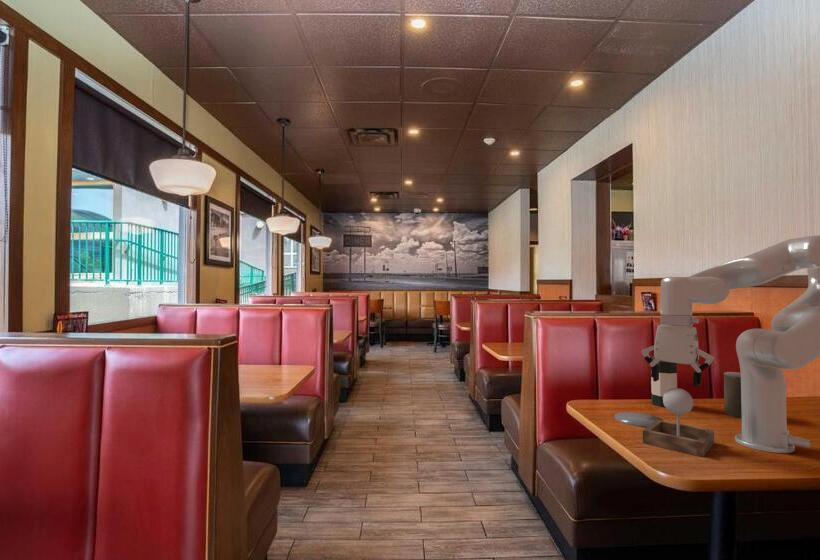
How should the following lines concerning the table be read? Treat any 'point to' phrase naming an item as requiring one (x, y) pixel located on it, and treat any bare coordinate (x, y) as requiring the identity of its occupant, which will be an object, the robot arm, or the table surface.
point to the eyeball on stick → (678, 403)
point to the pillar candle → (732, 394)
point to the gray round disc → (636, 419)
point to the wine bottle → (663, 381)
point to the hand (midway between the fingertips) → (675, 383)
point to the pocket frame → (679, 437)
